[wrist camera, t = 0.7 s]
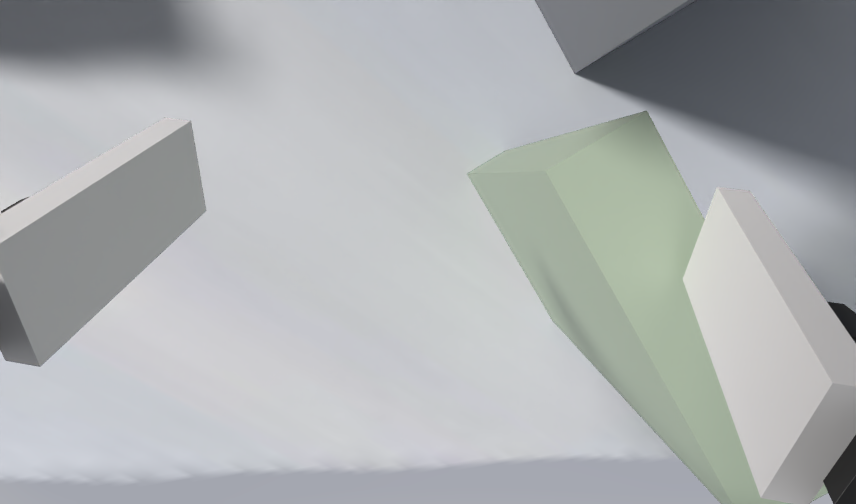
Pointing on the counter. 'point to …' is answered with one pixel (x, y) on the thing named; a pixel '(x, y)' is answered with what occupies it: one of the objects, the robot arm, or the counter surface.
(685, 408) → the green block
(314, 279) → the counter surface
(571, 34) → the stand
